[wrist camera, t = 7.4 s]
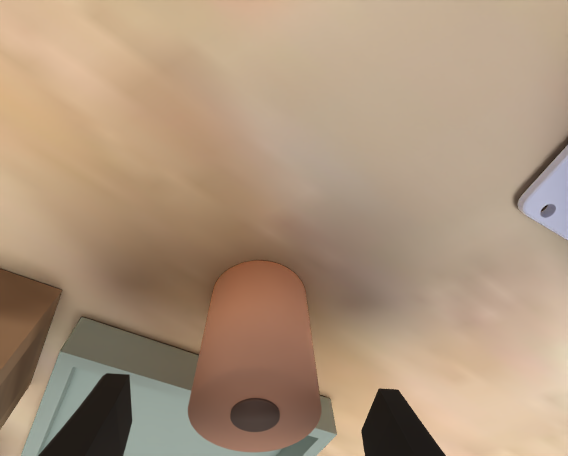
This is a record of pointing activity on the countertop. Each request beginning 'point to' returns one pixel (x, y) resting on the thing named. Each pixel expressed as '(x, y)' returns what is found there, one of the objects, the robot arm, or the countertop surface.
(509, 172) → the countertop surface
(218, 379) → the terracotta round
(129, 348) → the tray
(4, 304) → the walnut block
